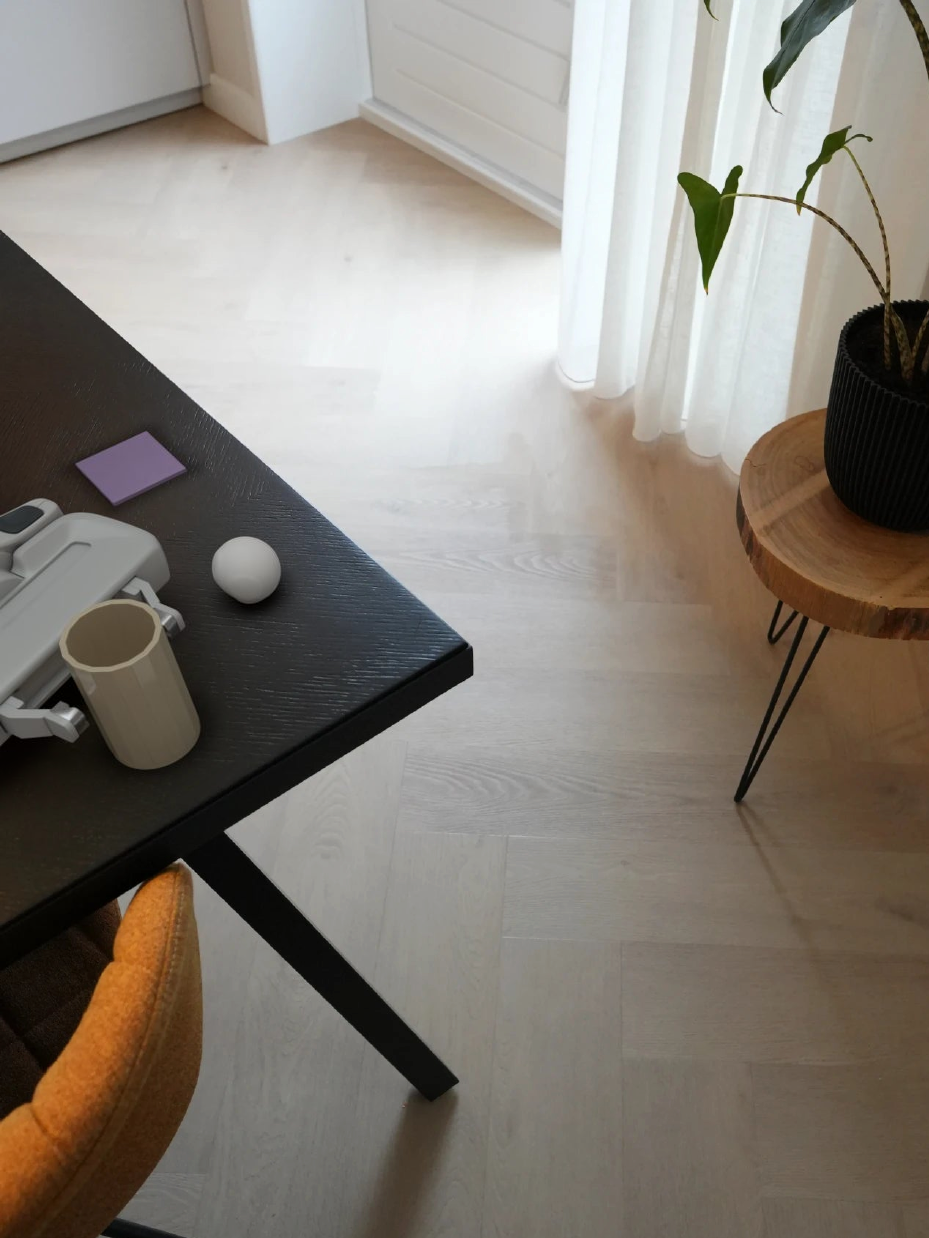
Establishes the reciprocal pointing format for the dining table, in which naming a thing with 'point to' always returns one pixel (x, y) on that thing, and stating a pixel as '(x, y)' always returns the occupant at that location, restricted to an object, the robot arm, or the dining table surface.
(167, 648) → the cup
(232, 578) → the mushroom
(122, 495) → the napkin
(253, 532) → the dining table surface
